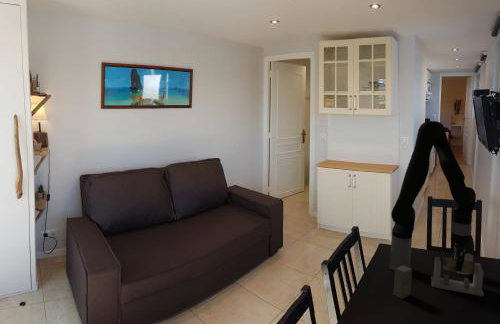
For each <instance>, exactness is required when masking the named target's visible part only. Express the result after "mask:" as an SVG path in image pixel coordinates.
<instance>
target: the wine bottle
mask: <svg viewBox="0 0 500 324" xmlns="http://www.w3.org/2000/svg"><path fill="white" fill-rule="evenodd" d="M464 246H465V257H464V260H467V261H474V255H475V242H474V238H473V236H472V234H471V241H470V244H468V245H464ZM454 259H455V257H454ZM453 274H454V275H456V276H458V277H461V276H462V278H471V277H472V274H468V273H462V272H456V271H453ZM470 276H471V277H470Z"/></svg>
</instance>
